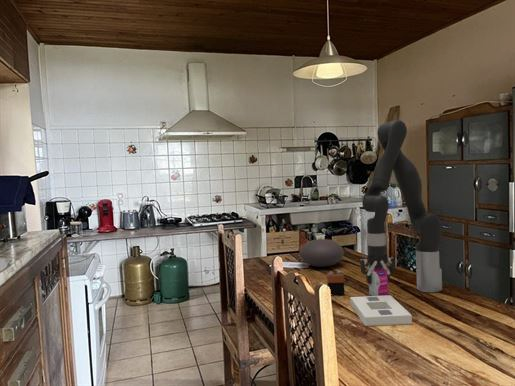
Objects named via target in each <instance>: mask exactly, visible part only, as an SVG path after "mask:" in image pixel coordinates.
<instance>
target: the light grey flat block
mask: <svg viewBox="0 0 515 386" xmlns="http://www.w3.org/2000/svg"><path fill="white" fill-rule="evenodd" d="M349 299H350V306H351V307H352V309H353V310H354V312H355V314H356V315H357V316H358V318H359V319H360V321H361V322H362V324H363V325H364V327H373V326H392V325H393V326H395V325H412V324H413V319H412V318H413V317H412V316H413V315H412V314H411V313H410V312H409V311H408V310H407V309H406V308H404V306H403V305H402V304H400V303H399V302H398V301H397V300H396V299H395V298H394V297H393V296H392V295H391V294H388V295H385V296H370V295H366V296H352V297H351V296H350V298H349Z"/></svg>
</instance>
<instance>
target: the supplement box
mask: <svg viewBox="0 0 515 386" xmlns="http://www.w3.org/2000/svg"><path fill="white" fill-rule="evenodd" d="M370 276H371V284H368V290H369V291H368V293H369V295H368V296H385V295H389V283H388V278H387V270H384V269H383V268H377V269H373V271H372V272H371V274H370Z"/></svg>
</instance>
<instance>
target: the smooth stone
mask: <svg viewBox="0 0 515 386" xmlns="http://www.w3.org/2000/svg"><path fill="white" fill-rule="evenodd" d="M344 252H345V251H344V248H343V247H342V246H341V245H340V244H339V243H338V242H336V241H334V240H331V239H325V238H317V239H313V240H309V241H307V242H305V243H304V244H303V245H302V246H301V247H300V249H299V253H298V254H299V257H300V259H301V260H302V262H304V263H306V264H307V265H309V266H312V267H321V268H322V267H323V268H324V267H330V266H331V267H332V266H333V265H336V264H337V263H339V262H340V261H341V260H342V259H343V257H344Z"/></svg>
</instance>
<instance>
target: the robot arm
mask: <svg viewBox="0 0 515 386" xmlns="http://www.w3.org/2000/svg"><path fill="white" fill-rule="evenodd" d="M376 131H377V134H376V135H377V139H378V141H379V143H380V145H381V147H382V149H383V151H384V152H383V153H382V156H381V157H380V159H378V162H377V163H376V165H375V167H374V171H373V174H372V178H371V182H370V184H369V186H368V188H367V190H366V192H365V193H364V195H363V198H362V201H361V202H362V208H363V209H364V211H366V212H368V213H374V215H373V217H371V218H368V220H367V221H366V224H367V225H366V228H367V232H366V233H367V234H366V244H367V247H366V248H367V249H366V250H367V258H360V259H359V264H360V272H361V274H363V275H365V278H366V279H365V280H366V283H367V284H368V285H369V284H371V276H370V274H371V272H372V271H373V269H377V268H382V269H384V270H387V278H388V284H389V283H391V282H390V281H391V274H394V273H395V271H396V270H395V269H396V268H395V267H396V259H395V258H394V257H388V254H387V251H388V250H387V235H386V220H387V215H388V211H389V206H390V205H389V201H388V198H387V197H386V196H385V195H380V194H381V193H383V192H385V191H387V190H389V186H390V182H391V177H392V175H393V174H394V177H395V180H396V182H397V185H398V188H399V190H400V192H401V196H402V198H403V200H404V204H405V206H406V208H407V211H408V216H409V220H410V223H411V226H412V228H413V230H415V232H416V233H418V234H420V235H419V236H420V237H419V241H418V242H416V244H415V263H416V264H415V265H416V289H417V291H420V292H423V293H438V292H442V291H443V276H442V275H443V274H442V271H443V270H442V268H441V267H440V245H441V243H442V223H441V219H440V218H439V217H438V215H436V214H435V213H430V212H427V209H426V208H425V207H426V206H425V205H424V202H423V198H422V194H423V184H422V179H421V177H420V174H419V172H418V169H417V167H416V165H415V164H414V163H413V162H412V161H411V160H410V159H409V158H408V157H407V156H406V155H405V154H404V153H403V152H402V146H403V144H404V142H405V139H406V137H407V132H408V128H407V125H406V124H405V122H404V121H402V120H401V119H394V120H391V121H388V122H385V123H382V124H380V125H379V126H378V128H377V130H376ZM367 263H368V266H367V269H366V265H367ZM387 263H389V268H388V267H387Z"/></svg>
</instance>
